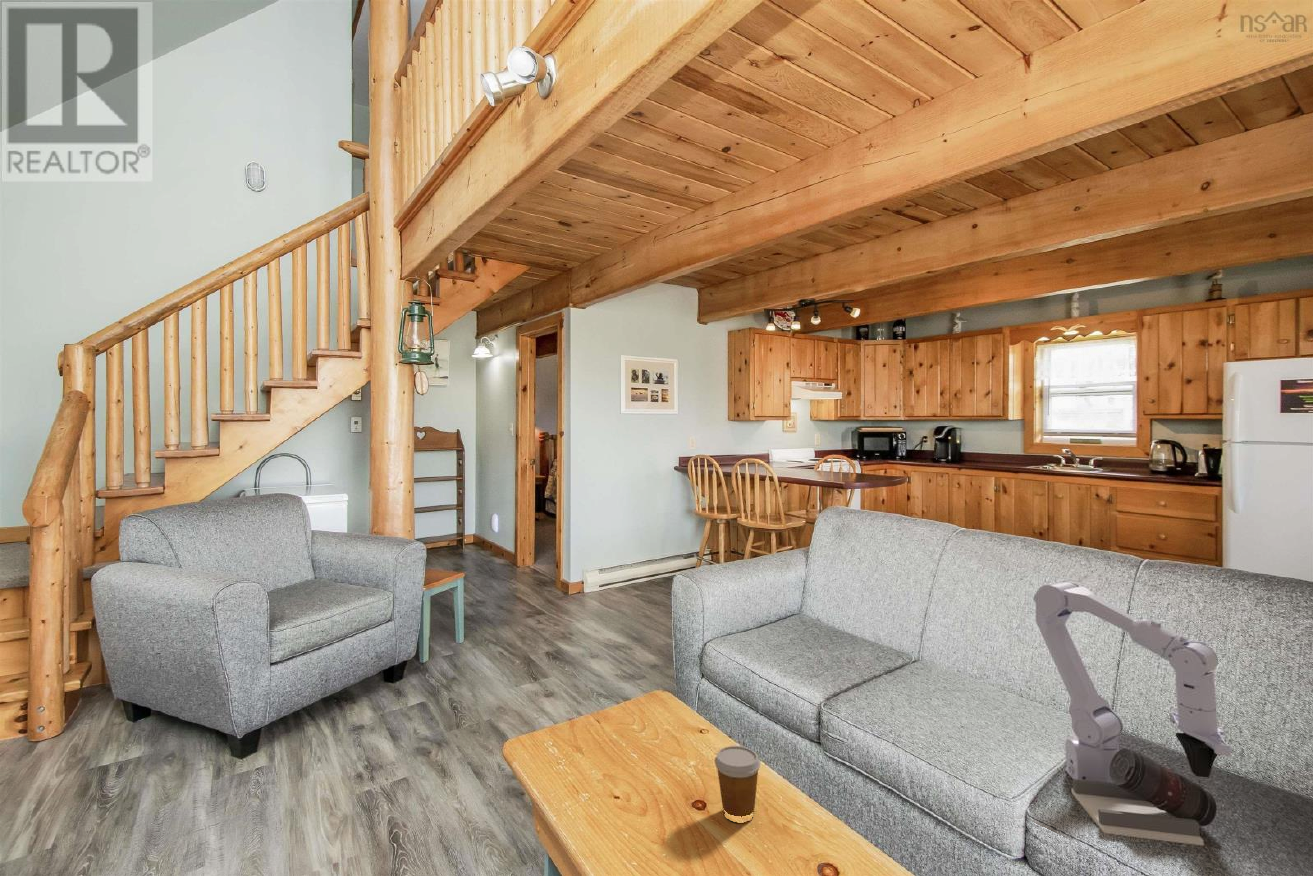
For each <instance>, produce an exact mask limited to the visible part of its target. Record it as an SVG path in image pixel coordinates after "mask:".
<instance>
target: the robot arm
mask: <svg viewBox="0 0 1313 876" xmlns="http://www.w3.org/2000/svg"><path fill="white" fill-rule="evenodd" d="M1032 599H1033V602H1034V603H1035V622H1036V625H1037V628H1038V629H1039V632H1040V634H1041V636H1042V637H1043V640H1044V643H1045V645H1046V647H1047V649H1048V652H1049V653H1050V656H1051V658H1052V660H1053V662H1054V664H1055V667H1056V669H1057V671H1058V674H1059V675H1060V677H1061V680H1062V681H1063V685H1064V686H1065V688H1066V691H1067V692H1068V695H1069V697H1070V703H1069V705H1068V713H1069V715H1070V718H1071V729H1072V732H1073V733H1074V735H1075V736H1076V737H1075V738H1068V739H1066V740H1065V745H1064V746H1065V749H1064V750H1065V763H1066V765H1065V767H1066V768H1065V769H1064V770H1065V772H1066V773H1067V774H1068V775H1069V777H1070V778H1072V780H1073V779H1079V780H1088V781H1098V782H1107V783H1114V782H1113V781H1112V780H1111V778H1110V773H1109V768H1110V763H1111V761H1112V759H1113V757H1114V755H1115V754H1116V753H1117V752H1118V751H1119V750H1120V747H1119V745H1120V744H1119V741H1118V739H1119V738H1118V737H1119V736H1120V735H1121V734H1122V733H1123V731H1124V724H1123V721H1122V719H1121V717H1120V716H1119V714H1118V713H1116V712H1115V711H1114V710H1113V708H1112V707H1111V706H1110V703H1109V701H1108V700H1106V699H1105V698H1104V697H1102V696H1101V695H1100V694H1098V692H1097V690H1096V687H1095V685H1094V683H1093V681H1092V679H1091V677H1090V674H1089V673H1088V670H1087V669H1086V667H1085V664H1084V662H1083V660H1082V658H1081V656H1080V653H1079V652H1078V650H1077V647H1076V645H1075V643H1074V642H1073V639H1072V636H1071V635H1070V633H1069V631H1068V629H1067V626H1066V623H1067V621H1068V619H1069V618H1070V616H1071V615H1072V613H1074V612H1076V613H1079V612H1080V613H1082V612H1083V613H1084V612H1085V613H1088V614H1089V613H1090V614H1091V615H1093V616H1095V617H1097V618H1098V619H1101V620H1103V621H1105V622H1107V623H1109V624H1111V625H1113V626H1115V627H1116V628H1119V629H1120V630H1123V631H1125V632H1127V633H1128V635H1129V637H1130V639H1131V641H1132V642H1133V643H1135V644H1137V645H1139V646H1141V647H1143V648H1145V649H1146V650H1148V651H1149V652H1151V653H1153V654H1155V655H1156V656H1158V657H1160V658H1162V659H1163V660H1165V661H1168V662H1169V665H1170V667H1171V668H1172V669H1173V670H1174V671H1175V691H1176V707H1177V708H1176V709H1177V710H1176V711H1177V712H1173V711H1169V714H1168V715H1169V721H1170V722H1171V723H1172V724H1175V726H1176V728H1177V729H1178V730H1179V731H1180V732H1176V733H1175V737H1176V738H1177V740H1178V741H1179V743H1180V745H1181V747H1182V748H1183V750H1184V753H1185V756H1186V758H1187V760H1188V761H1187V762H1188V765H1189V767H1190V769H1191V772H1192V774H1194V775H1195V776H1196V777H1200V778H1209V777H1210V775H1211V771H1212V769H1213V765H1214V763H1215V760H1216V758H1217V757H1218V756H1225V757H1231V746H1230V744H1228V743H1227V742H1226V741H1225V739H1224V738H1223V736H1225V733H1226V732H1225V731H1224V730H1222V729H1221V728H1219V727H1218V717H1217V701H1216V698H1217V697H1216V686H1215V676H1214V674H1215V673H1214V671H1213V670H1214V669H1216V668H1217V666H1218V664H1219V657H1218V655H1217V653H1216V652H1215V651H1214V650H1213V649H1212V648H1211V647H1210V646H1209V645H1206V644H1205V643H1204V642H1202V641H1199V640H1190V639H1189V638H1188V637H1187V636H1185V635H1179V634H1177V633H1175V632H1173V631H1171V630H1169V629H1167V628H1166V627H1164V626H1162V623H1161V622H1160V621H1159V620H1156V619H1154V620H1151V619H1149V618H1143V619H1137V618H1135V617H1134V616H1133V615H1130V614H1129V613H1127V612H1125V611H1123V610H1122V609H1120V608H1118V607H1117V606H1115V605H1113V604H1112V603H1111V602H1108V601H1106V600H1105V599H1103V598H1101V597H1099V596H1098V595H1096V594H1095V593H1093V592H1092V591H1091V590H1090V589H1088V588H1087V587H1084V586H1080V585H1079V584H1078V583H1076V582H1073V580H1072V581H1070V580H1063V581H1061V582H1058V583H1057V582H1056V583H1053V584H1045V585H1044V584H1043V585H1041V586H1040V587H1039V588H1038V589H1037V591H1036V592H1035V594H1034V596H1033V597H1032Z"/></svg>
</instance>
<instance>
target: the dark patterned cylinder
mask: <svg viewBox="0 0 1313 876" xmlns="http://www.w3.org/2000/svg"><path fill="white" fill-rule="evenodd" d="M1109 773H1110V778H1111V780H1112V781H1113V782H1114V783H1115V784H1116V785H1118V787H1120V788H1121V789H1123V790H1125V791H1127V792H1129V793H1130V794H1132V795H1134V796H1136V797H1138V798H1140V799H1142V800H1145V801H1148V802H1149V803H1151V804H1153V805H1154V807H1156V808H1158V809H1160V810H1164V811H1166V812H1167V813H1169V814H1171V815H1173V816H1175V817H1177V818H1183V819H1191V820H1196V821H1197V822H1198V823H1199V827H1200V826H1201V827H1206V826H1209V825H1211V824H1212V823H1213V822H1214V820H1215V818H1216V815H1217V812H1218V811H1217V810H1218V809H1217V808H1218V807H1217V802H1216V799H1215V797H1214V796H1213V794H1211V793H1210V792H1209V791H1207V790H1205V788H1204V787H1202V786H1201V785H1200V784H1198V783H1196V782H1194V781H1193V780H1192V779H1190V778H1188V777H1185V776H1184V775H1181V774H1179V773H1176V772H1175V771H1174V770H1171V769H1169V768H1167V767H1165V766H1163V765H1161V764H1160V763H1158V762H1157V761H1155V760H1154V759H1151V758H1149V757H1148V756H1146V755H1143V754H1142V753H1140V752H1137V751H1136V750H1132V749H1130V748H1127V747H1125V748H1121V749H1119V751H1118V752H1117V753H1116V754H1115V755H1114V757H1113V759H1112V761H1111V763H1110V768H1109Z"/></svg>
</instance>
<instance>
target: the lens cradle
mask: <svg viewBox="0 0 1313 876" xmlns="http://www.w3.org/2000/svg"><path fill="white" fill-rule="evenodd" d="M1072 785H1073V787H1071V793H1072V795H1073V797H1074V798H1075V799H1076V800H1077V802H1079V804H1080V805H1081V807H1083V809H1084V810H1085V812H1087V813H1088V815H1089V816H1090V817H1091V819H1092V820H1093V821H1094V822H1095V824H1096V825H1097V826H1098V828H1100V830H1101V831H1102V832H1103V834H1109V835H1117V836H1124V837H1132V838H1139V839H1148V840H1157V841H1163V842H1172V843H1179V844H1189V845H1196V846H1204V845H1205V843H1204V839H1203V838H1202V837H1201V835H1200V826H1199V823H1198V822H1197V821H1196V820H1191V819H1183V818H1177V817H1175V816H1173V815H1171V814H1169V813H1167V812H1166V811H1164V810H1160V809H1158V808H1156V807H1154V805H1153V804H1151V803H1149V802H1148V801H1145V800H1142V799H1140V798H1138V797H1136V796H1134V795H1132V794H1130V793H1129V792H1127V791H1125V790H1123V789H1121V788H1120V787H1118V785H1116V784H1115V783H1107V782H1098V781H1088V780H1079V779H1072Z"/></svg>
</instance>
